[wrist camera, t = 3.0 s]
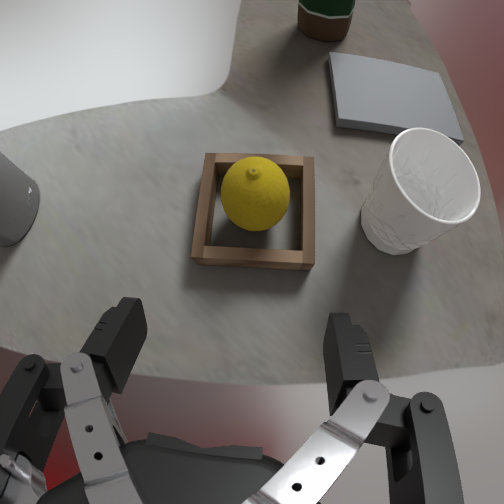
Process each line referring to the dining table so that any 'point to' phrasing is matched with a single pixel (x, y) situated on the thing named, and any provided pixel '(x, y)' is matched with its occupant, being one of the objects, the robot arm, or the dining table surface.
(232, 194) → the lemon
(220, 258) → the walnut collar
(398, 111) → the gray board
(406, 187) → the white cup
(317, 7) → the beer bottle
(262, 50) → the dining table surface
